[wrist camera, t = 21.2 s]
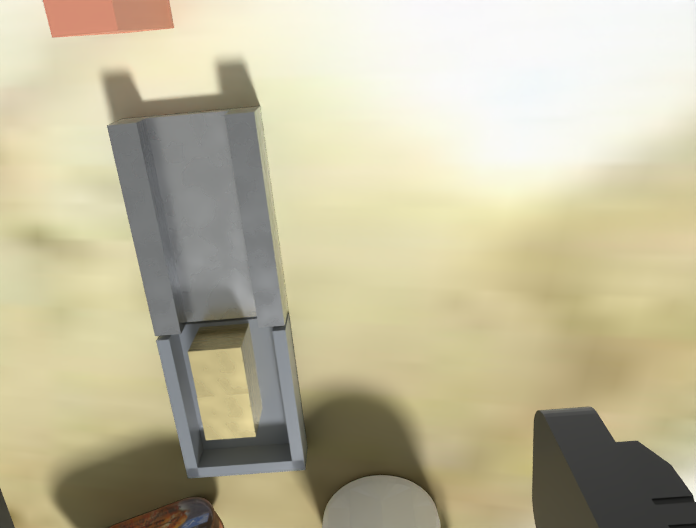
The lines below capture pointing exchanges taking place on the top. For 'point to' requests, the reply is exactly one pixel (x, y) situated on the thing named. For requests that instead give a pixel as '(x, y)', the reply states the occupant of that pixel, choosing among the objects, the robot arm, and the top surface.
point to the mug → (381, 505)
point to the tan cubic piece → (222, 360)
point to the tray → (276, 395)
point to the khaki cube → (231, 414)
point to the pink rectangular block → (106, 16)
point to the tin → (177, 516)
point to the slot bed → (202, 216)
